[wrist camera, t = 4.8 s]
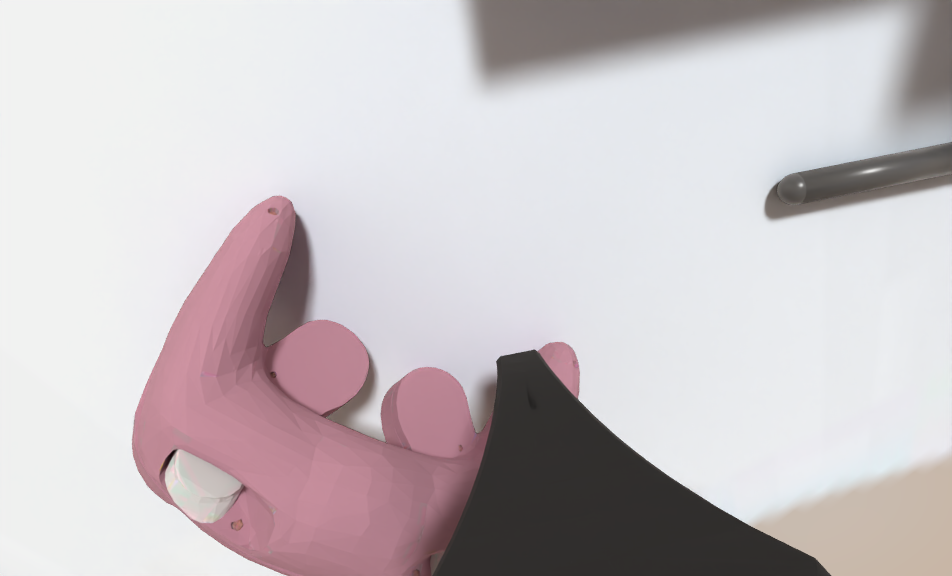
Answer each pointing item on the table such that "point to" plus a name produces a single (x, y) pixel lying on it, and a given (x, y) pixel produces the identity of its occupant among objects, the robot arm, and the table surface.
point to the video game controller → (302, 428)
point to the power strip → (866, 174)
